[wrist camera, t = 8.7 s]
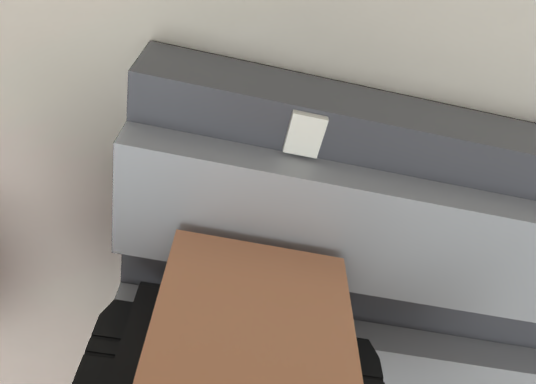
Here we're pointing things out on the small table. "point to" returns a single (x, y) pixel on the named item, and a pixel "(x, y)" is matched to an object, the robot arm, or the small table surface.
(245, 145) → the board
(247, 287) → the fader knob
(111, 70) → the small table surface
